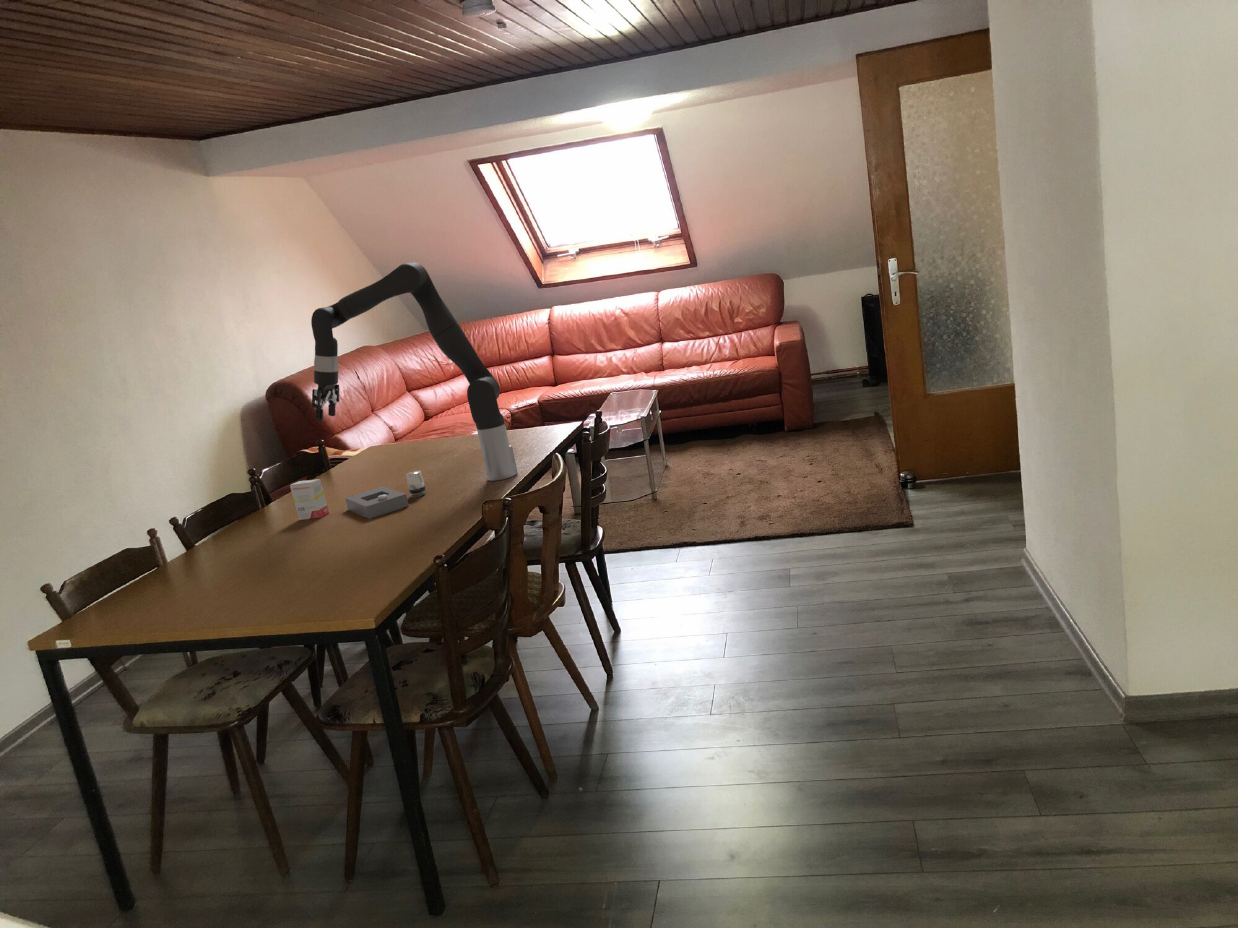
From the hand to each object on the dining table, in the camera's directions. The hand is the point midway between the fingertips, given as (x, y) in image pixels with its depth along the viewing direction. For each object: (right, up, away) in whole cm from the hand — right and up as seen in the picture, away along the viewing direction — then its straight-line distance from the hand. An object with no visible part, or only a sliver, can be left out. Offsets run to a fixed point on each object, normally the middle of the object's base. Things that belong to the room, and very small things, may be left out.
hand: (325, 418), depth 313 cm
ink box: (-1, -32, -8) cm, 33 cm away
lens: (+32, -25, -5) cm, 41 cm away
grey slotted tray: (+20, -29, -12) cm, 37 cm away
